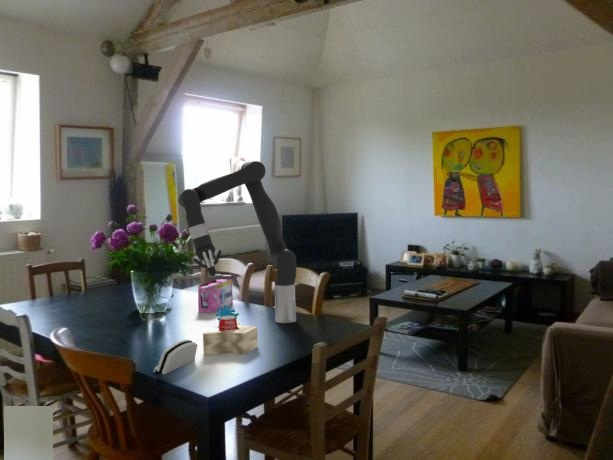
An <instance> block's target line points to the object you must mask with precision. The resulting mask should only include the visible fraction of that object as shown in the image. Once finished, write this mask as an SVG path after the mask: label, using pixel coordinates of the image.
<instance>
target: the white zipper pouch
mask: <svg viewBox="0 0 613 460" xmlns="http://www.w3.org/2000/svg"><path fill="white" fill-rule="evenodd" d="M197 348H198V344H197V343H196V342H194V341H192V340H191V339H182V340H179V341H177V342H174V343H172V344H171V345H170V346H168V347H167V348H165V349H164V350H163V351H162V352H161V356H160V359H159V361H158V364H157V366H155V367H154V368H153V369H154V370H153V373H156V372H161V374H162V375H166V374H168V373H170V372H173V371H175V370H177V369H179V368H181V367H183V366H185V365H186V364H188V363H191V362H193V361H196V355H197V354H196V353H197Z"/></svg>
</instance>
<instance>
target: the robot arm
mask: <svg viewBox="0 0 613 460" xmlns="http://www.w3.org/2000/svg"><path fill="white" fill-rule="evenodd" d="M265 176H266V167H265V165H264V164H263V163H262V162H261V161H259V160H251V161H246V162H244V163H243V164H242V165H241V167H240V169H238V170H235V171H233V172H231V173H229V174H224V175H222V176H219V177H216V178H213V179H210V180H208V181H206V182H203V183H201V184H199V185H198V186H197V187H194V188H186V189H183V191H182V192H181V193H180V194H179V196H178V199H177V200H178V204H179V205H180V207H182V208H184V210H185V220H186V221H185V222H186V224H187V227H188V231H189V236H190V239H191V240H192V244H193V247H194V250H195V254H194V255H195V256H194V257H193V258H192V259H191V261H192V262H193V263H195V264H196V265H198V267H200V268H202V269H206V270H207V273H208V276H210V277H215V276H216V274H217V272H216V269H215V265H217V264H218V263H219V259H220V258H221V254H222V250H221V249H220V250H219V249H217V248H216V246H214V244H213V241H212V238H211V235H210V232H209V228H208V227H207V224H206V221H205V218H204V215H203V213H202V207H201V203H203V202H204V201H207V200H210V199H213V198H215V197H217V196H219V195H221V194H222V195H223V194H224V193H226V192H228V191H230V190H232V189H235V188H237V187H240V186H242V185H244V186H245V187H246V189H247V192H248V195H249V197H250V200H251V203H252V206H253V208H254V210H255V214H256V217H257V220H258V222H259V225H260V228H261V229H262V232H263V235H264V237H265V239H266V241H267V245H268V247H269V252H270V256H271V261H272V263H273V264H274V265H275V267H276V276H275V278H274V311H275V312H274V313H275V316H274V317H275V320H274V321H275V322H276V323H279V324H292V323H296V322H297V312H296V311H297V306H296V305H297V303H296V282H295V281H296V279H297V257H296V255H295V253H294V252H293V251H292V250H290V249H288V247H287V246H286V243H285V240H284V238H283V236H282V235H283V233H282V225H281V224H282V223H281V219H280V216H279V213H278V210H277V208H276V207H277V206H275V203H274V202H273V200H272V199H271V198H270V196H269V195H268V194H267V192H266V190H265V188H264V186H263V182H262V179H264V178H265ZM214 256H215V257H214ZM199 259H200V260H202V261H203V262H202V261H200V260H199Z"/></svg>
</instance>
